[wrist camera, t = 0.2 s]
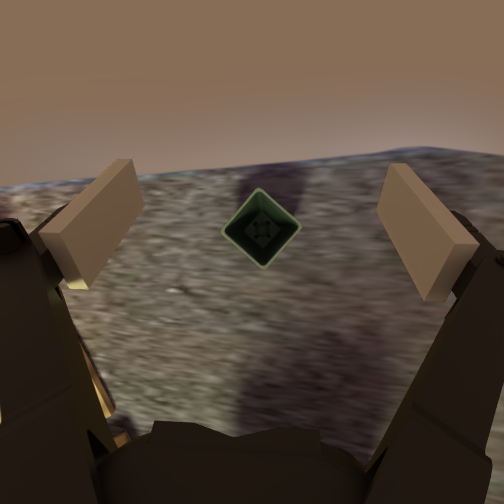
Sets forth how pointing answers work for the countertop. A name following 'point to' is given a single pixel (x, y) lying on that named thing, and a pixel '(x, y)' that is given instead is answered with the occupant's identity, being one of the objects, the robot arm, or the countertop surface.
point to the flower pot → (261, 228)
